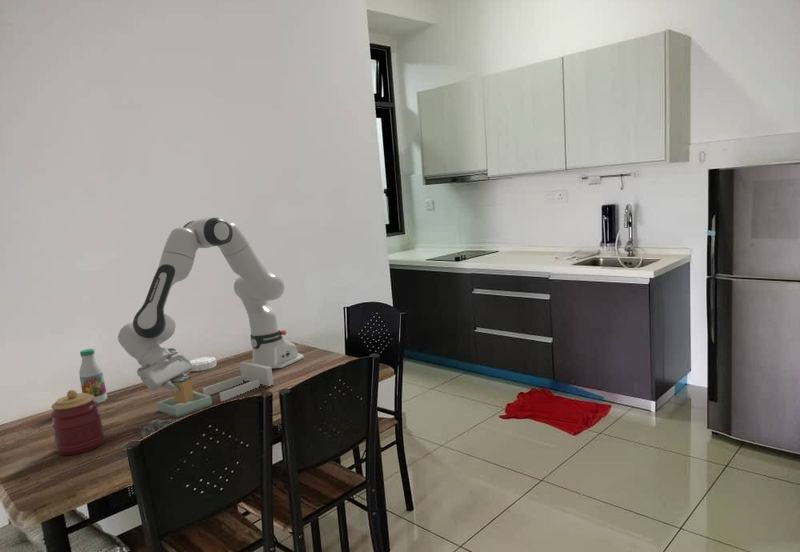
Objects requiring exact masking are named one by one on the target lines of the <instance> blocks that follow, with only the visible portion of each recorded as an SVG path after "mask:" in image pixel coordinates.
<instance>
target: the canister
mask: <svg viewBox="0 0 800 552" xmlns="http://www.w3.org/2000/svg"><path fill="white" fill-rule="evenodd" d="M94 398H95V396H94V395H90V394H88V393H82V392H77V390H75V389H71V390H68V391H67V393H66V396H62V397H60V398H58V399H57V400H56V401H55V402H54V403H53V404H51V407H50V408H51V409H52V411H51V412H50V413H49V417H50V418H51V419H52V423H51V428H52V431H53V438H54V441H55V445H54V446H55V450H56V452H57V454H58V455H61V456H72V455H73V456H74V455H78V454H82V453H86V452H88V451H91V450H93V449H96V448H98V447H100V446H101V445H103V444H104V442H105V436H106V435H105V431H104V427H103V423H102V417H101V416H102V413H101V412H100V411H99V405H100V403H99V402H97V401H94Z"/></svg>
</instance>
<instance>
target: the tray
mask: <svg viewBox="0 0 800 552" xmlns="http://www.w3.org/2000/svg"><path fill="white" fill-rule="evenodd" d="M193 396H194V399H192V400H190V401H189V402H187V403H174V397H173V396H172V397H170V398H166V399H163V400H160V401H157V410H158V412H161V413H163V414H166V415H169V416H172V417H174V418H175V419H178V418H180V417H182V416H185V415H189V414H191V413H194V412H196V411H199V410H202V409H204V408H206V407H210V406H212V405H213V400H212V396H211V395H209V396H208V395H205V394H204V393H201V392H198V391H196V390H193ZM211 404H212V405H211Z"/></svg>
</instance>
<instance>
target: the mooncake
mask: <svg viewBox="0 0 800 552" xmlns="http://www.w3.org/2000/svg"><path fill="white" fill-rule="evenodd" d="M189 361H190V362H191V363H192V365H193V369H192V370H191V371H190V372H201V371H206V370H209V369H212V368H215V367H216V366H217V359H216V357H214V356H203V357H197V358H193V359H191V360H189Z"/></svg>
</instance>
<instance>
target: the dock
mask: <svg viewBox="0 0 800 552" xmlns="http://www.w3.org/2000/svg"><path fill="white" fill-rule="evenodd" d="M239 369H240V375H238V376H235V377H231V378H229V379H226V380H223V381H221V382H217V383H214V384H212V385H211V384H210V385H208V386H206V387H203V388H202V390H203V394H205V395H208V396H211V395H214V394H217V393H219V400H220V402H224V401H227V400H230V399H232V398H235V397H237V395H238V396H241V395H243V393H244V394H246V393H248V392H247V391H249V392H251V391H250V390H252V389H254V388H257V387H259V386H260V384H264V385H268V386H270V387H272V386H271V385H273V384H275V383H274V378H273V370H272V368H271V367H268V366H263V365H258V364H253V363H252V362H248V361H242V362H239ZM243 380H244V381H243ZM247 381H249V382H247ZM244 382H246V383H244ZM241 383H242V384H241ZM239 384H240V385H239ZM236 385H237V386H236ZM264 385H263V386H264ZM233 386H234V387H233ZM268 386H267V387H268ZM273 386H274V385H273ZM260 387H261V386H260ZM257 389H258V388H257ZM254 390H255V389H254ZM252 391H253V390H252ZM245 392H246V393H245ZM240 394H241V395H240Z"/></svg>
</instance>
